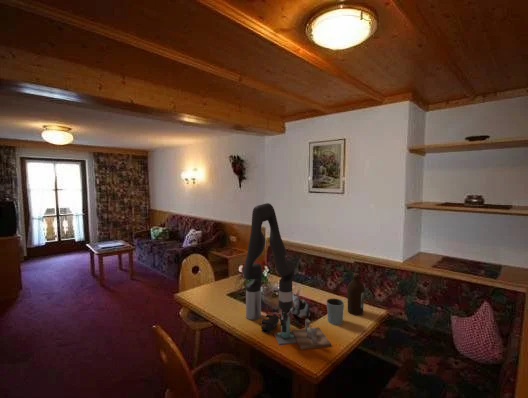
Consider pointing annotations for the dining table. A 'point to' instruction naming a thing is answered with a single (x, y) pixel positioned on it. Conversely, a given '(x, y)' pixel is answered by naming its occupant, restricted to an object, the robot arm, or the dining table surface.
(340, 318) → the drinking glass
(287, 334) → the teal teardrop shape
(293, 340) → the mat
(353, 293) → the olive oil
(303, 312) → the lucky cat figurine
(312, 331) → the square mounting plate
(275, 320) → the black lumpy shape
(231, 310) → the dining table surface
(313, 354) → the dining table surface
